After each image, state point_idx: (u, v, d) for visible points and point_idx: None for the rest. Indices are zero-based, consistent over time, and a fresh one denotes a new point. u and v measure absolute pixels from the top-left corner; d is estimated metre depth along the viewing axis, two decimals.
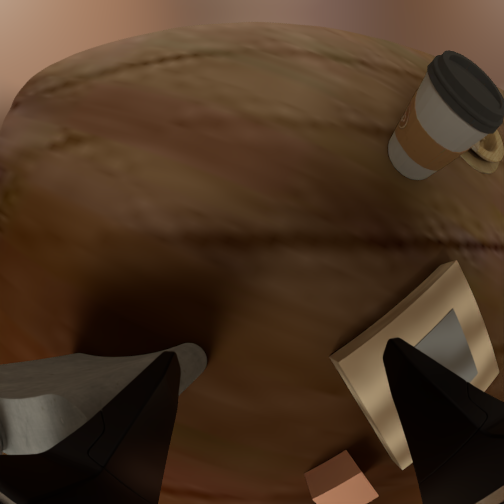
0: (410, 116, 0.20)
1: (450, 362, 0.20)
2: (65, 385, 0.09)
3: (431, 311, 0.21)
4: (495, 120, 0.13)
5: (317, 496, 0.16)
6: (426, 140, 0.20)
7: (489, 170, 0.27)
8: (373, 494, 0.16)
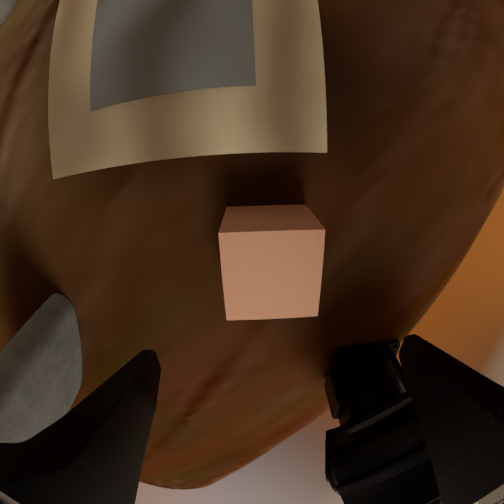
0: None
1: None
2: None
3: (77, 23, 0.09)
4: None
5: (227, 311, 0.15)
6: None
7: None
8: (307, 236, 0.13)
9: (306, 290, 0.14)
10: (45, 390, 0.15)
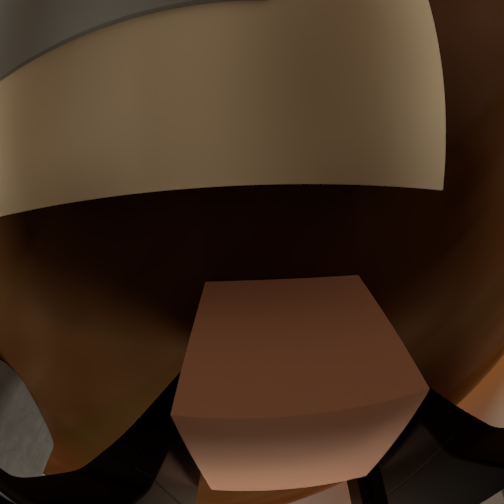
0: None
1: None
2: None
3: None
4: None
5: (211, 483, 0.06)
6: None
7: None
8: (390, 408, 0.04)
9: (358, 462, 0.05)
10: None
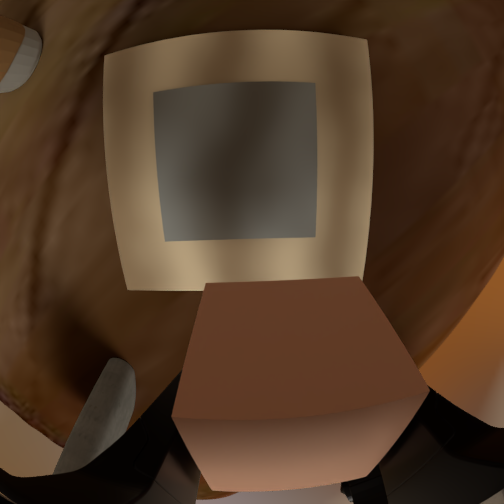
0: None
1: (234, 133, 0.14)
2: None
3: (132, 136, 0.14)
4: None
5: (211, 484, 0.06)
6: None
7: None
8: (390, 409, 0.04)
9: (358, 463, 0.05)
10: (115, 440, 0.19)
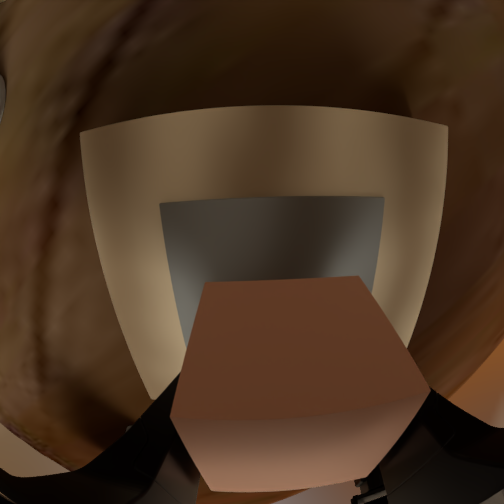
0: None
1: (276, 269, 0.11)
2: None
3: (138, 260, 0.11)
4: None
5: (211, 484, 0.06)
6: None
7: None
8: (391, 410, 0.04)
9: (358, 463, 0.05)
10: None
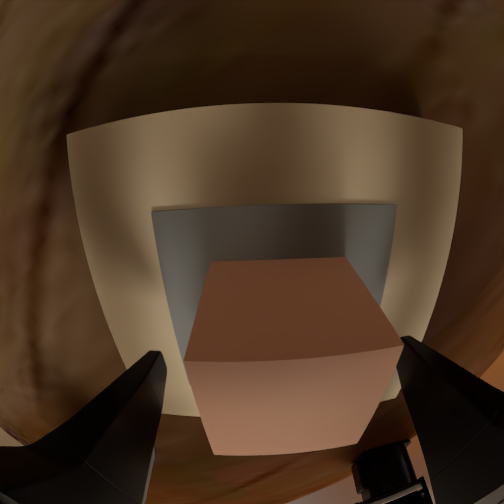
0: None
1: None
2: None
3: (129, 271, 0.10)
4: None
5: (213, 447, 0.07)
6: None
7: None
8: (370, 360, 0.06)
9: (348, 424, 0.07)
10: None
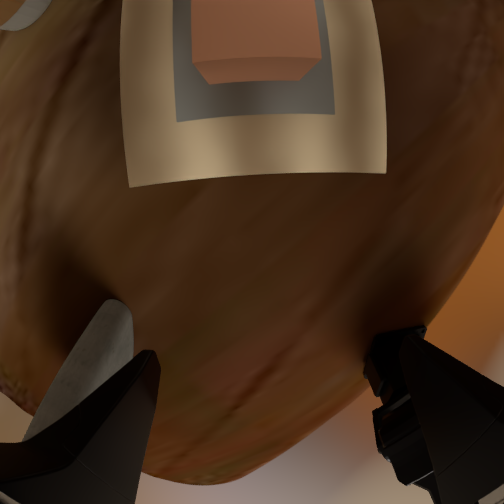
0: None
1: None
2: None
3: (150, 30, 0.11)
4: None
5: (193, 51, 0.08)
6: None
7: None
8: None
9: (299, 21, 0.08)
10: None
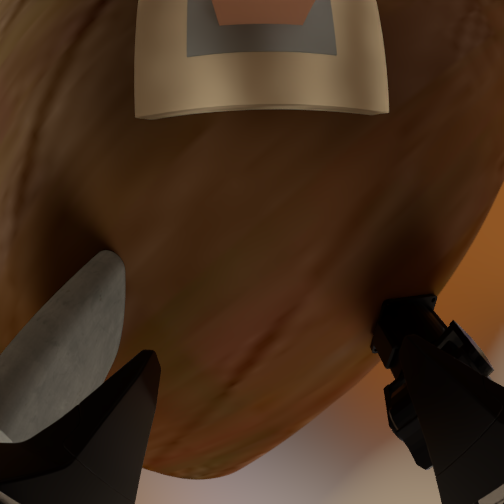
0: None
1: None
2: None
3: None
4: None
5: None
6: None
7: None
8: None
9: None
10: (90, 352, 0.16)
